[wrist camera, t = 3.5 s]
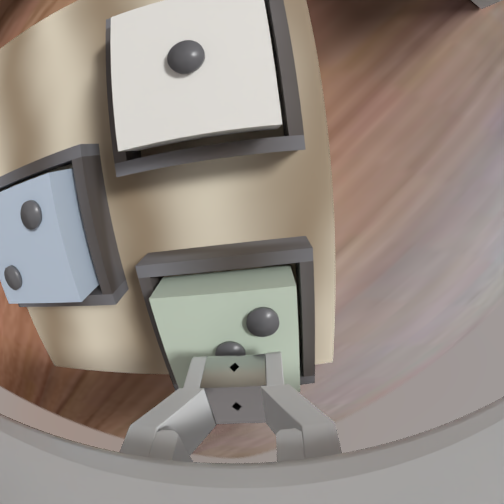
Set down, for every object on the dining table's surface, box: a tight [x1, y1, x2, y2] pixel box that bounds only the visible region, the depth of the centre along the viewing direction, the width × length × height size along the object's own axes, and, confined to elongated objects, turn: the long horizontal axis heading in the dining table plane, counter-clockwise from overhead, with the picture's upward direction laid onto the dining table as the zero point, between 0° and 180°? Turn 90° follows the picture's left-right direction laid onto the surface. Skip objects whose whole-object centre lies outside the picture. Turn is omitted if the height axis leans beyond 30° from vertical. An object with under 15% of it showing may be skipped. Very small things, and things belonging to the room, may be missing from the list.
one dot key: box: [110, 0, 282, 152], centre depth 8 cm, size 5×5×2 cm
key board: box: [0, 0, 335, 390], centre depth 11 cm, size 17×20×4 cm
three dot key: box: [149, 265, 300, 392], centre depth 11 cm, size 5×5×2 cm
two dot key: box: [0, 168, 99, 304], centre depth 10 cm, size 5×5×2 cm
